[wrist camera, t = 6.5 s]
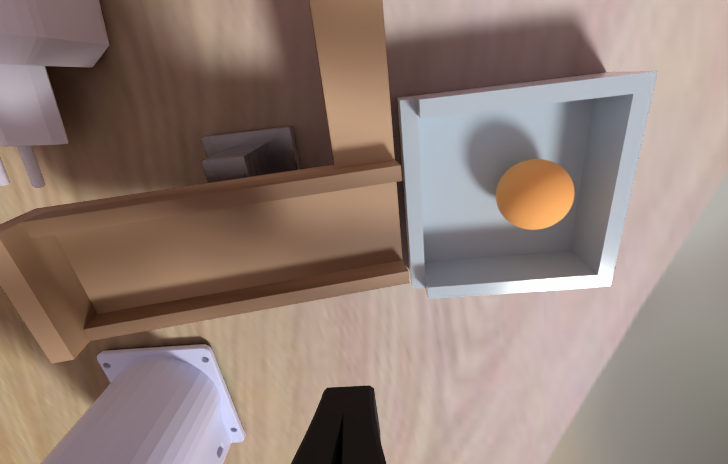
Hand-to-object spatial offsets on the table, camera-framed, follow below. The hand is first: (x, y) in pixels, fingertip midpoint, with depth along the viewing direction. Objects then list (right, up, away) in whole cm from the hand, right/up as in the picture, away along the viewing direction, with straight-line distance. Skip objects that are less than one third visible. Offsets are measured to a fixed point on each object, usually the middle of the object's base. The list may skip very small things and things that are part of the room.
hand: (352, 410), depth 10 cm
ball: (+8, +7, +6) cm, 12 cm away
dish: (+7, +8, +8) cm, 13 cm away
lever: (-6, +9, +3) cm, 11 cm away
